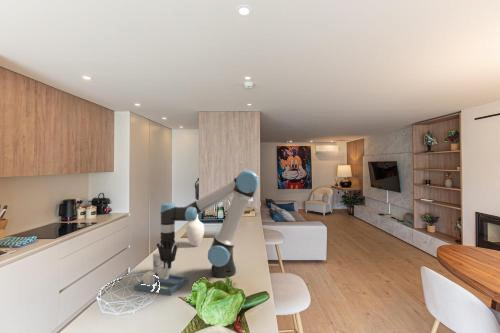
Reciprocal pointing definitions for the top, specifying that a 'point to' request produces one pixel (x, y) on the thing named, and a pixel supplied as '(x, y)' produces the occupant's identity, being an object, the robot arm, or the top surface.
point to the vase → (195, 232)
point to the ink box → (157, 262)
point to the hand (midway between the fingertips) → (167, 273)
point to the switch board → (164, 284)
